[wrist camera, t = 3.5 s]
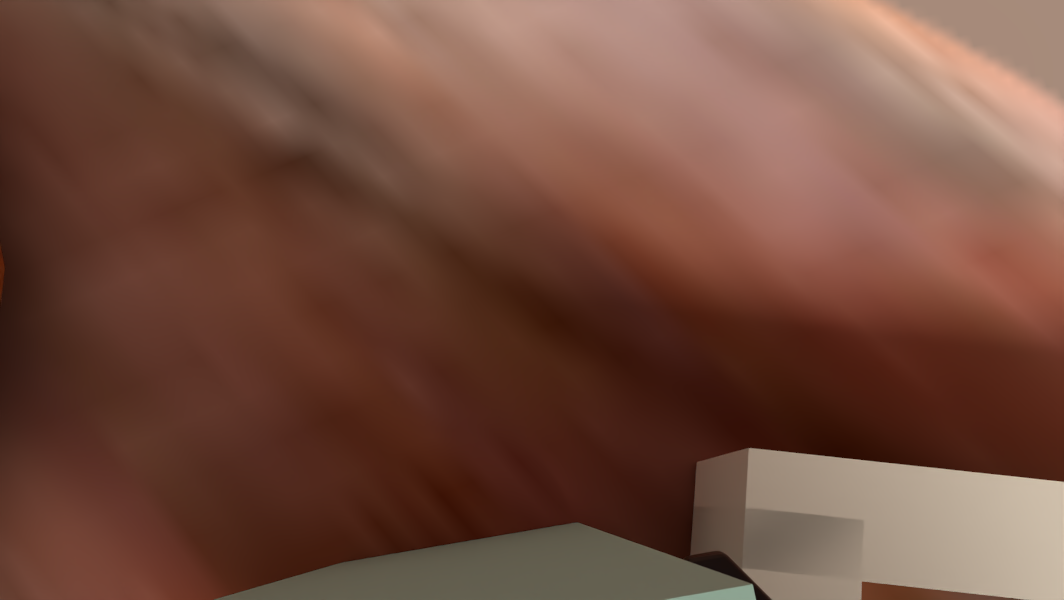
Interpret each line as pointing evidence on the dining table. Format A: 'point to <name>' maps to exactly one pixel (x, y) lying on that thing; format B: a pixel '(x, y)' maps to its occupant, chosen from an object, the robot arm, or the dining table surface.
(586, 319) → the dining table surface
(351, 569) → the post
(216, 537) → the dining table surface
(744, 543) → the cradle
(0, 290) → the bread
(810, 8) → the dining table surface
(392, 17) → the dining table surface
